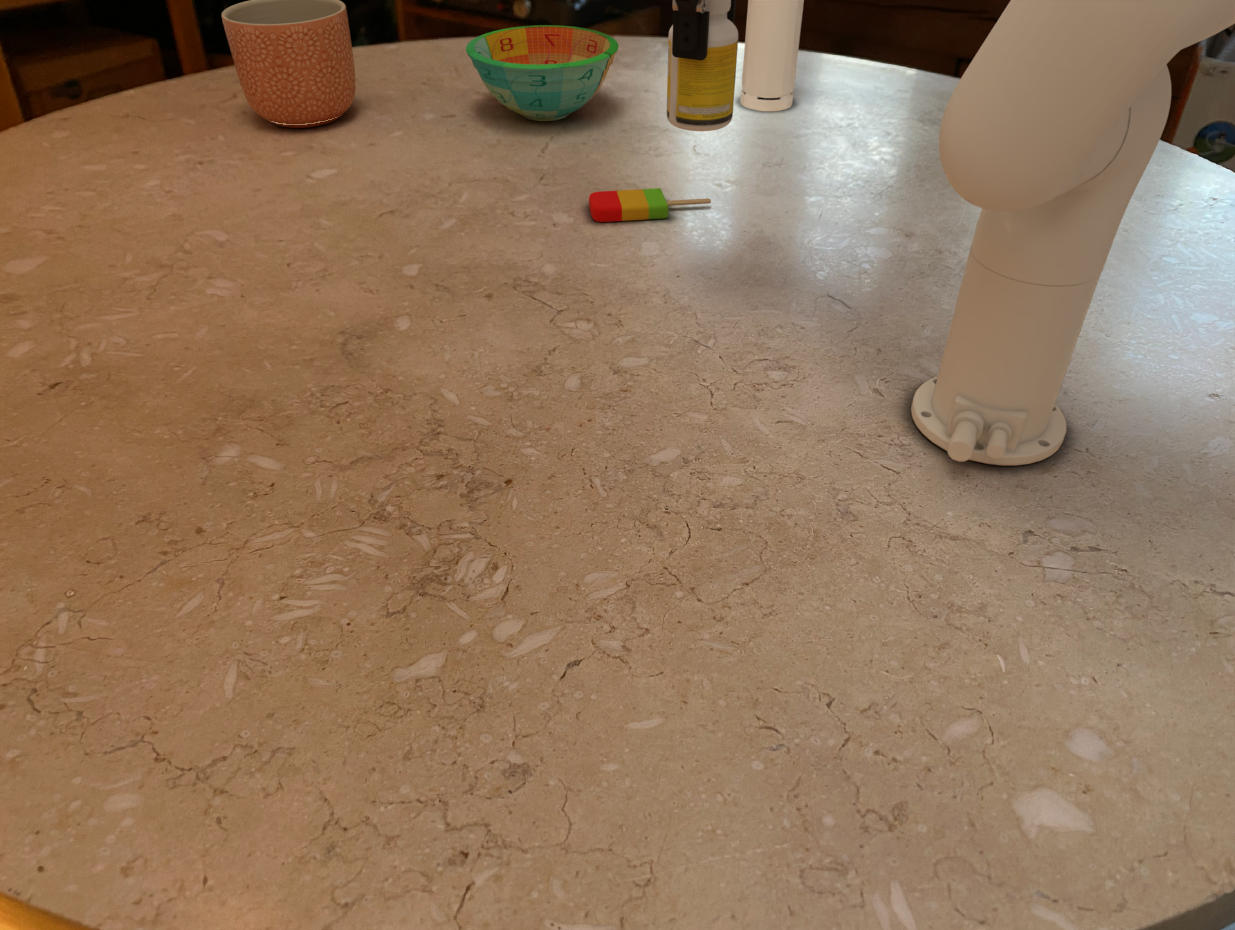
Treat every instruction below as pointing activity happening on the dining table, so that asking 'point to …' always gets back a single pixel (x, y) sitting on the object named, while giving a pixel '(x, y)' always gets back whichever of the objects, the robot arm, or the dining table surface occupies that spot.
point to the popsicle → (633, 205)
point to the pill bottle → (705, 77)
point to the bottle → (771, 53)
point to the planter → (293, 58)
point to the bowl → (543, 67)
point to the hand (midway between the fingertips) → (703, 45)
